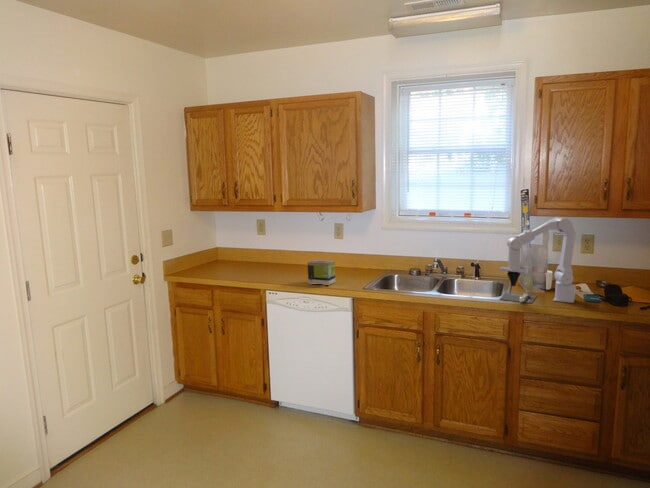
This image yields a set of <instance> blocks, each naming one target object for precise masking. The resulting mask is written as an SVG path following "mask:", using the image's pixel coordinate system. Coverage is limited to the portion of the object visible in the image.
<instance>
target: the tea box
mask: <svg viewBox="0 0 650 488" xmlns="http://www.w3.org/2000/svg"><path fill="white" fill-rule="evenodd" d="M307 276H308V277H307V279H308V284H309V283H318V284H328V285H329V284H331V283H333V282H335V283H336V265H335V260H325V259H320V260H319V259H313V260H311V261H308V262H307Z"/></svg>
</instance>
